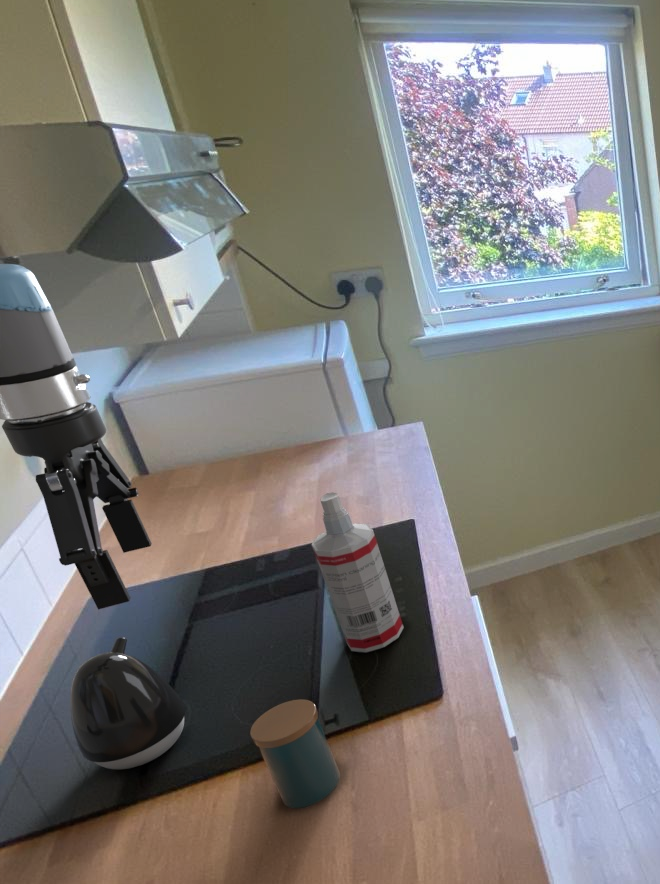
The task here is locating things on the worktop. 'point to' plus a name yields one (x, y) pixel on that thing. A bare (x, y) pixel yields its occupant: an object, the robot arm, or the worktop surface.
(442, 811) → the worktop surface
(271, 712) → the canister
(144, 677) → the black egg-shaped gadget
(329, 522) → the white plastic bottle
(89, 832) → the worktop surface
